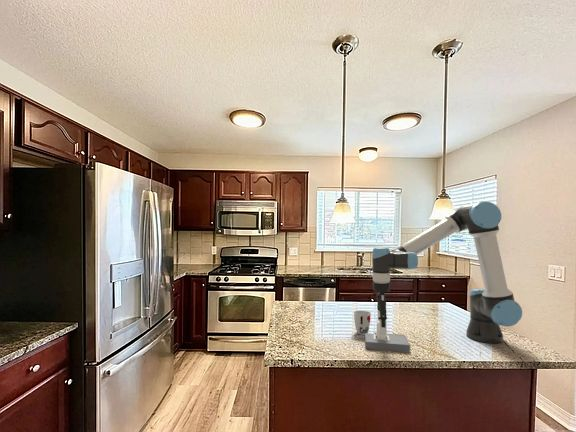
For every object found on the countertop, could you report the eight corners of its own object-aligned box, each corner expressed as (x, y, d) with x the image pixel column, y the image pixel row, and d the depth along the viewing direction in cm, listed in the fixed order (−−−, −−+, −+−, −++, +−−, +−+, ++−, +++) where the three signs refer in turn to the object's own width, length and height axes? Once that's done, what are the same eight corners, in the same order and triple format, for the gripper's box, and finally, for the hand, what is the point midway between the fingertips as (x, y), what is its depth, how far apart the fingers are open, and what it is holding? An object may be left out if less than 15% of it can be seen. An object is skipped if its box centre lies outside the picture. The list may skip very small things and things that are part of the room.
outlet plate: (405, 342, 150) (405, 335, 150) (409, 352, 138) (409, 344, 138) (365, 339, 153) (364, 332, 153) (365, 348, 142) (365, 341, 142)
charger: (385, 343, 148) (385, 320, 149) (386, 346, 145) (386, 323, 145) (376, 342, 149) (376, 320, 150) (377, 345, 146) (377, 322, 146)
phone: (404, 337, 159) (404, 334, 159) (407, 342, 152) (407, 339, 152) (374, 335, 162) (374, 332, 162) (375, 340, 155) (375, 337, 155)
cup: (358, 336, 158) (358, 315, 159) (351, 331, 166) (351, 311, 167) (373, 334, 160) (373, 314, 161) (365, 329, 168) (365, 310, 169)
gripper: (371, 277, 161) (371, 321, 160) (374, 286, 137) (374, 338, 136) (387, 278, 160) (387, 322, 159) (393, 287, 135) (393, 339, 134)
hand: (381, 329), depth 147 cm, fingers open, 13 cm apart
